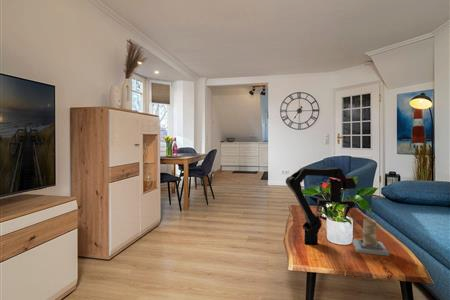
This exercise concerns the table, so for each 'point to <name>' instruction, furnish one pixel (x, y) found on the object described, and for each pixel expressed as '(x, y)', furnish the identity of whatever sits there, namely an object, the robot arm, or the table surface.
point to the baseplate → (370, 248)
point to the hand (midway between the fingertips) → (335, 217)
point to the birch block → (369, 232)
